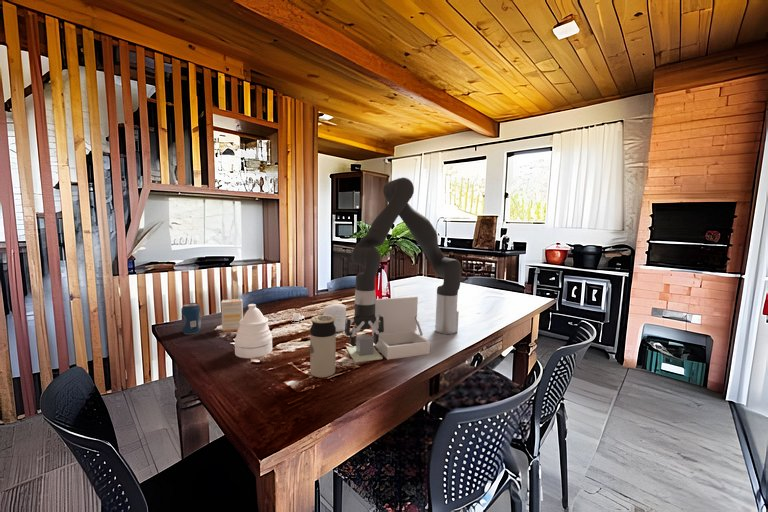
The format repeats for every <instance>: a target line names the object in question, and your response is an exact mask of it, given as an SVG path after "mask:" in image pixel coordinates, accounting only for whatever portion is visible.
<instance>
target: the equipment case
mask: <svg viewBox="0 0 768 512" xmlns="http://www.w3.org/2000/svg"><path fill="white" fill-rule="evenodd" d="M418 299H419V298H418V296H407V297H391V298H376V302H375V317H376V316H379V315H381V316H382V317H383V319H384V332H381V333H379V341H378V342H377V344H374V347H375V349H376V350H378V352H379V353H381V354H382V356H384V358H385V359H387V360H394V359H402V358H410V357H415V356H424V355H430V354H431V353H430V352H431V341H429V340H427V339H426V337H424V336H423V331H422V327H421V325H420V321H419V318H418ZM373 325H374V326H375V327H376V328H377V329H378V328H379V325H378V321H377V320H376V321H375V323H374V324H373ZM417 330H418V332H417ZM374 333H375V332H374V331H373V329H372V328H371V336H374Z"/></svg>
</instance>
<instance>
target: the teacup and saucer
mask: <svg viewBox="0 0 768 512" xmlns="http://www.w3.org/2000/svg"><path fill="white" fill-rule="evenodd" d="M292 314H293V315H292V318H291V319H293V320H292V321H294V322H295V321H298V322H300V321H302V319H304V320H305V316H304V315H301V313H300V312H294V313H292Z"/></svg>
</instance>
